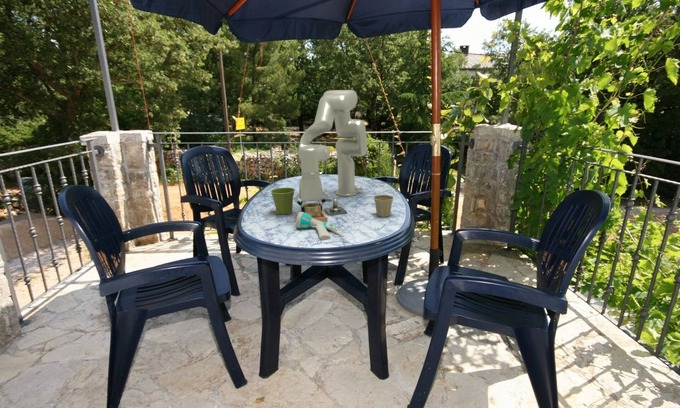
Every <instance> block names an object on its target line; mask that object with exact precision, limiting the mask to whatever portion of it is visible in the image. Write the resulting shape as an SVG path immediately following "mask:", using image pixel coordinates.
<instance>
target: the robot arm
mask: <svg viewBox="0 0 680 408" xmlns="http://www.w3.org/2000/svg"><path fill="white" fill-rule="evenodd" d="M357 103H358V94H357V92H356V91H355V90H354V89H353V90H352V89H338V90H337V89H334V90H333V89H332V90H327V91H324V93H323V95H322V96H321V98H320V99H319V101H318V105H317V110H316V115H315V117H314V122H313V124H311V125H310V126H309V127H308V128H307V129H306V130H305V131H304V133H303V134H302V135H301V137H300V141H299V145H298V150H297V152H298V153H297V154H298V155H297V156H298V157H299V159H300V166H301V169H300V170H301V177H300V179H299V186H298V190H299V191H298V193H297V194H296V195H295V196H293V202H295V203H296V204H298V205H299V206H300V212H304V213H305V208H304V204H306V202H314V201H315V202H317V203H318V204H319V205H320V206H321V211H323V205H324V203H325V202H327V200H328V198H329V196H330V195H328V194H327V193H326V192H324V191H323V187H322V186H323V185H322V180H321V177H320V176H322V175H323V173H322V171H321V172H320V170H319V163H323V162H326V161H327V160H328V159H329V158H330V155H331V154H330V153H331V151H330V148H329V147H328V146H326V145H324V144H311V142H312V141H313V140H314V139H315V138H316V137H319V136H321V135H323V134H325V133H327V132H329V131H331V130H332V128H333V125H334V124H335V131H336V134H337V136H338V137H339V139H338V140H337V141H336V142H335V153H336V157H337V158H336V159H337V190H336V191H335V195H337V196H339V197H353V196H356V195H357V194H358V191H363V189H364V188H363V186H360V185H357V186H356V185H355V181H356V180H355V179H356V178H355V171H356V170H355V167H356V166H355V161H354V160H353V158H352V157H364V156H365V155H366V154H367V151H368V142H367V131H366V124H365V122H364V121H363V120H361V119H352V118H351V112H350V111H352V110H353V109H354V108H356V106H357ZM299 199H300V200H299Z"/></svg>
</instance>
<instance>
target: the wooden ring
mask: <svg viewBox="0 0 680 408" xmlns="http://www.w3.org/2000/svg"><path fill="white" fill-rule="evenodd" d="M304 208H305V213H307V214H309V215H310V216H319V215H321V206H320V205H319V202H311V203H309V202H308V203H305V204H304Z"/></svg>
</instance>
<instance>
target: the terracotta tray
mask: <svg viewBox="0 0 680 408" xmlns="http://www.w3.org/2000/svg"><path fill="white" fill-rule="evenodd" d="M299 212H300V211H298V212H297V213H296V214H297V215H296V217H297V216H298V213H299ZM311 217H312V218H314V219H316V220H319V221H322V222H327V223H328V216H327V215H326V214H325V213H324V211H323V210H322V211H321V215H319V216H311Z"/></svg>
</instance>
